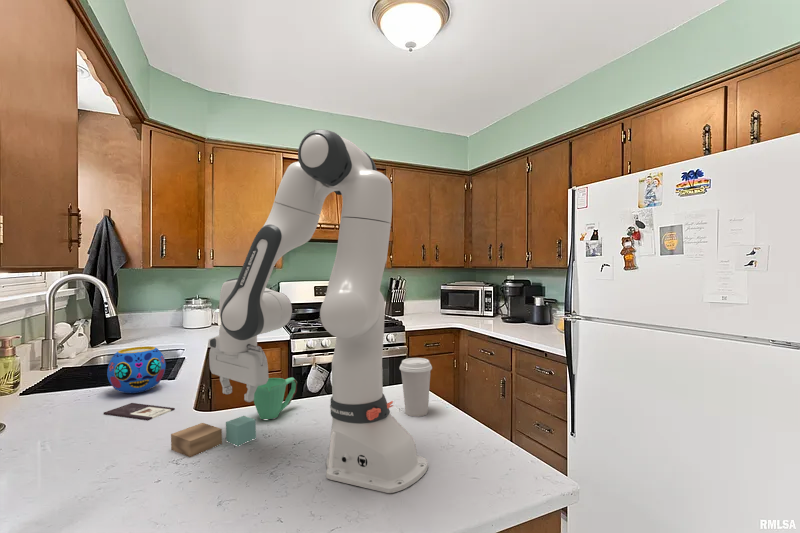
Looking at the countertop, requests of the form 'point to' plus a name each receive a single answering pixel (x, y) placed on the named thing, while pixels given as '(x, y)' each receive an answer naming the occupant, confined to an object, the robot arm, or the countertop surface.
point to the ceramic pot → (136, 369)
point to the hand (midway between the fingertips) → (238, 397)
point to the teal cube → (240, 430)
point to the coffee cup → (416, 385)
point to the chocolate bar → (139, 411)
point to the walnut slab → (196, 439)
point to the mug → (273, 397)
